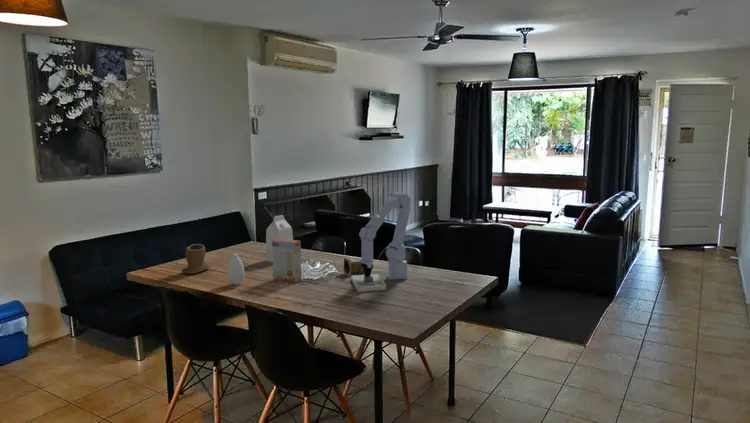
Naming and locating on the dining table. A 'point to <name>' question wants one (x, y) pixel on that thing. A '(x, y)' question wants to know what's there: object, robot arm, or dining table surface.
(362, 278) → the board
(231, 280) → the white vase
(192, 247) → the stone cup
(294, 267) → the cracker box
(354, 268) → the condiment
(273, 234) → the milk
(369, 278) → the tile rear
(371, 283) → the tile front
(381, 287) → the tray
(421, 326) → the dining table surface
